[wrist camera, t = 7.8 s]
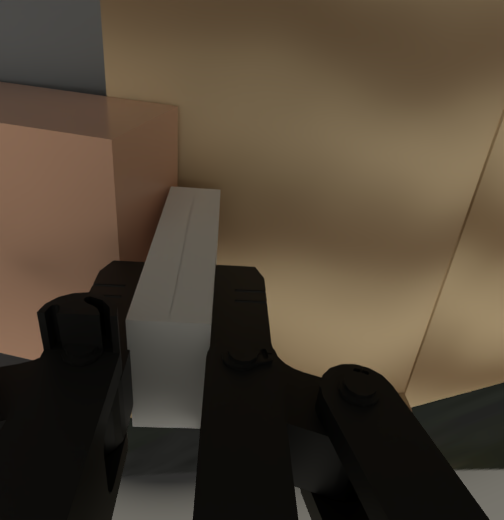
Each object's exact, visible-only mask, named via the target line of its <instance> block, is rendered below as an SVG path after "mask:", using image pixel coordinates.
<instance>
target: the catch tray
mask: <svg viewBox="0 0 504 520" xmlns="http://www.w3.org/2000/svg"><path fill="white" fill-rule="evenodd" d="M0 82H6V83H13V84H21V85H28V86H35V87H43V88H50V89H57V90H64V91H72V92H79V93H86V94H93V95H101V96H107V94H106V80H105V65H104V51H103V37H102V22H101V8H100V0H0ZM28 361H32V360H30V359H25V358H21V357H17V356H12V355H8V354H4V353H0V367H3V366H8V365H14V364H19V363H24V362H28Z"/></svg>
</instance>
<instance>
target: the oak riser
mask: <svg viewBox="0 0 504 520" xmlns="http://www.w3.org/2000/svg"><path fill="white" fill-rule="evenodd" d="M100 8H101V22H102V37H103V51H104V65H105V80H106V94H107V96H108V97H115V98H123V99H130V100H137V101H144V102H152V103H159V104H166V105H173V106H178V181H177V187H189V188H204V189H219V190H220V209H219V228H218V247H217V265H232V266H250V267H256V269H257V270H258V271H259V272H260V274H261V275H262V276H263V277H264V280H265V289H266V298H267V307H268V317H269V326H270V335H271V343H272V347H273V349H274V350H275V351H276V354H277V356H278V357H279V358H280V359H281V360H282V361H283V362H284V363H286V364H287V365H289V366H291V367H292V368H294V369H297V370H299V371H302V372H305V373H308V374H311V375H315V376H318V377H322V375H323V374H324V373H325V372H326V371H327V370H328V369H329V368H331V367H334V366H337V365H340V364H357V365H360V366H364V367H368V368H370V369H372V370H374V371H376V372H377V373H379V374H381V375H383V376H384V377H385V378H386V379H387V380H388V381H389V382H390V383H391V384H392V385H393V387H394V388H395V390H396V391H397V392H398V394H399V395H400V397H401V398H402V399H403V401H404V402H405V403H406V405H407V406H408V408H409V409H410V410H411V412H412V409H411V407H414V406H418V405H422V404H425V403H429V402H433V401H437V400H440V399H444V398H448V397H451V396H455V395H459V394H462V393H466V392H470V391H474V390H477V389H481V388H485V387H488V386H492V385H496V384H499V383H503V382H504V0H100ZM130 418H132V412H131V416H130Z"/></svg>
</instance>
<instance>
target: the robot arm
mask: <svg viewBox="0 0 504 520" xmlns="http://www.w3.org/2000/svg"><path fill="white" fill-rule="evenodd" d="M219 209H220V190H219V189H204V188H189V187H174V186H171V188H170V190H169V193H168V196H167V199H166V202H165V205H164V208H163V211H162V214H161V217H160V220H159V223H158V226H157V229H156V232H155V235H154V238H153V240H152V243H151V246H150V249H149V252H148V255H147V258H146V261H145V262H134V261H116V260H113V261H112V262H111V263H109V264H108V265H107V266H105V267H104V268H103V269H101V270H100V271H99V273H98V275H97V277H96V279H95V281H94V283H93V286H92V287H91V289H90V291H89V292H83V293H71V294H68V295H64V296H60V297H57V298H55V299H53V300H51V301H49V302H48V303H46V304H44V305H43V306H42V307H41V308H40V309H39V310H38V311H37V317H38V322H39V328H40V333H41V338H42V344H43V349H44V351H43V353H42V354H41V356H40V358H37V359H35V360H32V361H28V362H24V363H19V364H14V365H8V366H3V367H0V520H112V516H113V511H114V507H115V503H116V498H117V494H118V489H119V485H120V481H121V477H122V473H123V468H124V464H125V460H126V456H127V451H128V438H127V428H128V424H129V420H130V416H131V412H132V425H133V427H165V428H199V429H200V439H199V451H198V463H197V476H196V488H195V500H194V512H193V520H298V514H297V505H296V497H295V489H294V486H295V487H299V488H300V489H301V494H302V496H303V499H304V501H305V504H306V507H307V509H308V512H309V514H310V517H311V520H489V518H488V517H487V516H486V514H485V513H484V511H483V510H482V509H481V507H480V506H479V504H478V503H477V502H476V500H475V499H474V498H473V496H472V495H471V493H470V492H469V491H468V489H467V488H466V486H465V485H464V484H463V482H462V481H461V480H460V478H459V477H458V475H457V474H456V473H455V471H454V470H453V468H452V467H451V466H450V464H449V463H448V462H447V460H446V459H445V457H444V456H443V455H442V453H441V452H440V450H439V449H438V448H437V446H436V445H435V444H434V442H433V441H432V439H431V438H430V437H429V435H428V434H427V432H426V431H425V430H424V428H423V427H422V426H421V424H420V423H419V421H418V420H417V419H416V417H415V416H414V415H413V413H412V412H411V410H410V409H409V408H408V406H407V405H406V403H405V402H404V401H403V399H402V398H401V397H400V395H399V394H398V392H397V391H396V390H395V388H394V387H393V385H392V384H391V383H390V382H389V381H388V380H387V379H386V378H385V377H384V376H383V375H381V374H379V373H377V372H376V371H374V370H372V369H370V368H368V367H364V366H360V365H357V364H340V365H337V366H334V367H331V368H329V369H328V370H327V371H326V372H325V373H324V374H323V375H322V377H318V376H315V375H311V374H308V373H305V372H302V371H299V370H297V369H294V368H292V367H291V366H289V365H287V364H286V363H284V362H283V361H282V360H281V359H280V358H279V357H278V356H277V354H276V351H275V350H274V349H273V347H272V343H271V335H270V326H269V317H268V307H267V298H266V289H265V280H264V277H263V276H262V275H261V274H260V272H259V271H258V270H257V269H256V267H250V266H232V265H217V247H218V228H219Z"/></svg>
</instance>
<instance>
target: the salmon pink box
mask: <svg viewBox="0 0 504 520" xmlns="http://www.w3.org/2000/svg"><path fill="white" fill-rule="evenodd" d="M177 181H178V106H173V105H166V104H159V103H152V102H144V101H137V100H130V99H123V98H115V97H108V96H101V95H93V94H86V93H79V92H72V91H64V90H57V89H50V88H43V87H35V86H28V85H21V84H13V83H6V82H0V353H4V354H8V355H12V356H17V357H21V358H25V359H30V360H35V359H37V358H40V356H41V354H42V353H43V351H44V349H43V344H42V338H41V333H40V328H39V322H38V317H37V311H38V310H39V309H40V308H41V307H42V306H43V305H44V304H46V303H48V302H49V301H51V300H53V299H55V298H57V297H60V296H64V295H68V294H71V293H83V292H89V291H90V289H91V287H92V286H93V283H94V281H95V279H96V277H97V275H98V273H99V271H100V270H101V269H103V268H104V267H105V266H107V265H108V264H109V263H111V262H112V261H113V260H116V261H134V262H145V261H146V258H147V255H148V252H149V249H150V246H151V243H152V240H153V238H154V235H155V232H156V229H157V226H158V223H159V220H160V217H161V214H162V211H163V208H164V205H165V202H166V199H167V196H168V193H169V190H170V188H171V186H174V187H177Z"/></svg>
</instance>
